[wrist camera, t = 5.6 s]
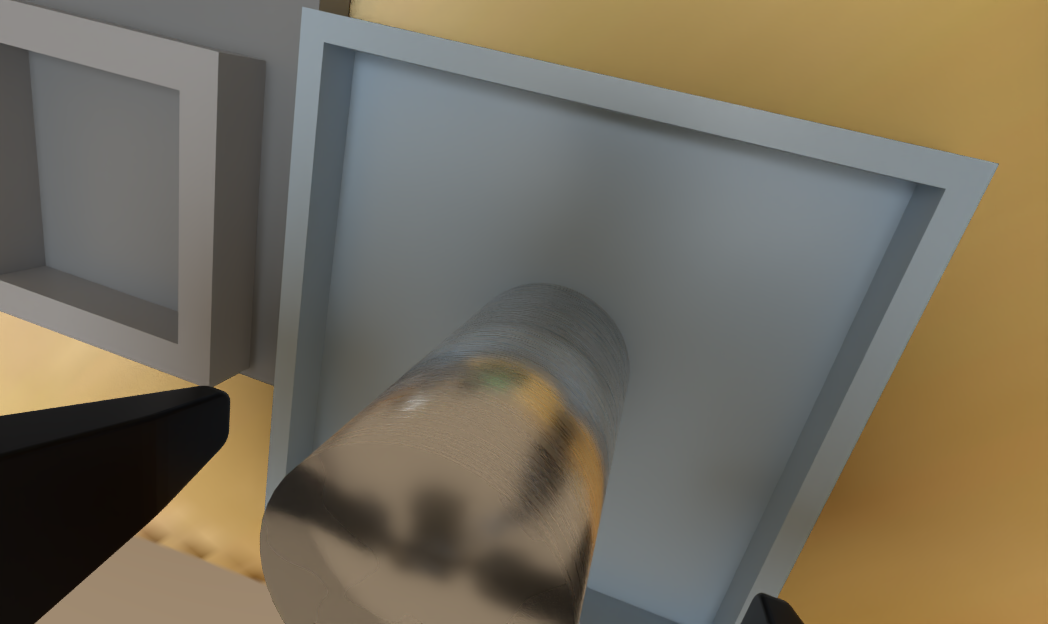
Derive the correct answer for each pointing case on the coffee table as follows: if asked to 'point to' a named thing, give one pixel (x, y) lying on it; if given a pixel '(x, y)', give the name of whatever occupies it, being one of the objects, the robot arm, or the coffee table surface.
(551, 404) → the cylinder
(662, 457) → the blue gray square tray
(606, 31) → the coffee table surface
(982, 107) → the coffee table surface
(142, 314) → the grey flat frame
